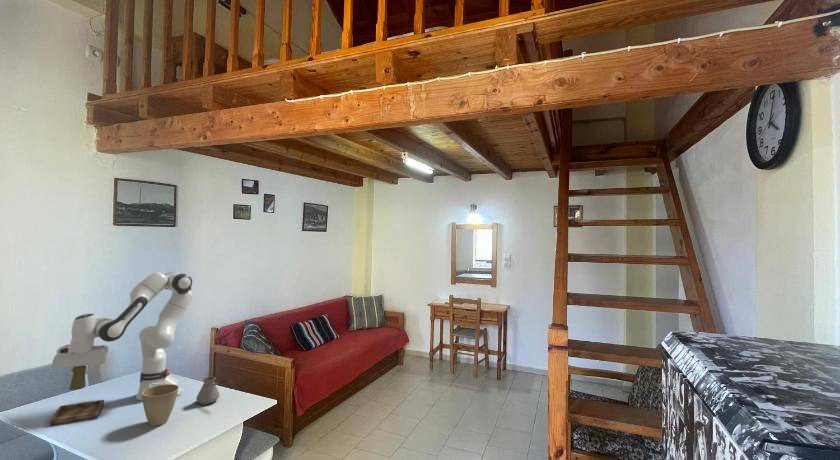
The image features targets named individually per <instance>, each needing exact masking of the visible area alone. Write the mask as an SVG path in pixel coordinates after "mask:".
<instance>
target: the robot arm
mask: <svg viewBox="0 0 840 460" xmlns="http://www.w3.org/2000/svg"><path fill="white" fill-rule="evenodd" d="M192 285H193V279H192V277H191V276H190V275H189V274H186V273H182V272H167V273H165V274H164V273H163V272H159V271H156V272H153V273H151V274H150V275H148V276H147V277H145V278H144V279H143V280H141V281H140V282H139V283H138V284H137V285H136V286H135V287H134V288H133V289H132V290H131V292H130V294H129V298H130V302H129V304H128V306H127V307H126V308H125V309H124V310H123V311H122V312H121V313H120V314H119V315H118V316H117V317H116V318H114V319H111V318H108V317H102V316H99V315H96V314H95V313H84V314H81V315H79V316H77V317H75V318H74V320H73V321H72V326H71V340H70V343H69V344H66V345H61V346H60V347H58V349H57V350H56V354H55V355H54V356H53V359H52V363H51V368H52V369H54V370H56V369H65V368H66V371H67V372H68V373H69V377H73V371H72V369H73V367H76V366H86V367H87V369H86V370H85V373H84V374H85V375H88V374H89V373H90V370H91V369H92V367H93V365H95V366H96V365H103V364H106V362H107V360H108V355H107V354H108V353H109V346H107V345H106V344H104V345H103V344H102V345H95V339H97V338H100V339H101V340H102V341H104V342H115V341H118V340H119V339H120V338H122V337H123V335H124V334H125V332H126V330H127V328H128V327H129V325H130V324H131V323H132V322H133V320H135V319H136V318H137V316H139V314H140V313H141V312H142V311H143V310H144V308H145V307H147V305H148V304H150V303H151V301H152V300H153V299H155V298H156V297H157V296H158V294H160V293H161V292H162V291H163V290H168V291H171V296H170V298H169V300H167V302H166V304H165V305H164V306H163V308H162V310H161V311H160V313H159V314H158V315H159V316H158V321H157V323H156V325H148V326H146V327H143V328H142V329H141V330H140V332H139V333H138V334H139V336H138V338H139V340H140V346H141V354H142V365H141V372H140V375H139V383H140V384H139V388H138V391H137V394H136V396H135V399H136V400H137V401H142V402H143V399H142V392H143V391H144V390H146V389H148V388H150V387H153V386H158V385H164V384H174V385H177V386H179V389H178V393H177V397H178V396H181V395H182V394H183V393H184V388H183V386H181V385H180V382H179V379H177V378H175V377H174V376H171V375H170V374H171V371H170V369H169V368H166V365H167V364H166V363H167V353H166V352H165V349H167V348H169V347H170V346H171V345H172V344H173V343H174V341H175V334H176V333H175V332H176V329H177V327H178V325H179V323H180V320H181V319H182V317H183V316H184V314H185V312H187V309H188V307H189V306H190V303H191V302H192V299H193V297H194V293H193V292H192V291H191V290H192Z"/></svg>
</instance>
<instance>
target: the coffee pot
mask: <svg viewBox="0 0 840 460" xmlns="http://www.w3.org/2000/svg"><path fill="white" fill-rule="evenodd" d="M216 379H217V377H215V376H206V377H204V378H203V379H202V381H203V384H202V386H201V388H200V390H199V391H198V393H197V396H196V399H195V400H196V402H198V403H199V404H200V405H202V404H203V405H206V404H207V405H211V404H213V402H214V403H215V402H216V401H217V400H218V399H219V398H220V392H219V390H218V387H217V385H220V384H224V383H226V382H229V383H230V384H231V383H232V378H227V379H223V380H221V381H218V382H215V381H216ZM230 381H231V382H230ZM210 403H211V404H210ZM203 405H202V406H203Z"/></svg>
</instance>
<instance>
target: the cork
mask: <svg viewBox="0 0 840 460" xmlns="http://www.w3.org/2000/svg"><path fill="white" fill-rule="evenodd" d="M87 369H88V366H87V365H86V366H76V367H72V368H71V370H72V371H73V376H71V377H72V378H71V382H70V385H69V388H68V389H69V390H70V391H77V390H82V389H84V388H86V387H87V386H86V385H87V383H86V374H84V373H85V370H87Z"/></svg>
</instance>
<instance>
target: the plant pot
mask: <svg viewBox="0 0 840 460" xmlns="http://www.w3.org/2000/svg"><path fill="white" fill-rule="evenodd" d="M179 386H180V385H179ZM179 386H177V385H174V384H164V385H158V386H153V387H150V388H148V389H146V390H144V391H143V392H142V399H143V401H142V405H143V410H144V414H145V417H146V421H147V423H148V425H149V426H151V427H158V426H161V425H164V424H166V423H167V422H168V420H169V419H170V416H171V413H172V412H173V408H174V407H175V405H176V400H177V397H178V396H177V393H178V389H179Z"/></svg>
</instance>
